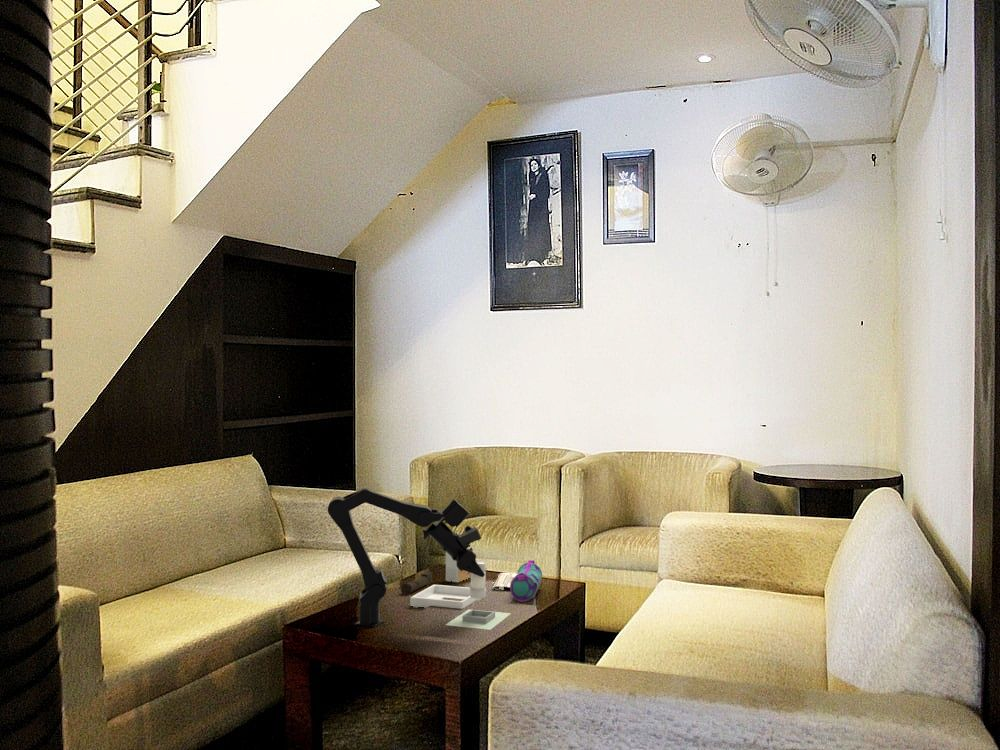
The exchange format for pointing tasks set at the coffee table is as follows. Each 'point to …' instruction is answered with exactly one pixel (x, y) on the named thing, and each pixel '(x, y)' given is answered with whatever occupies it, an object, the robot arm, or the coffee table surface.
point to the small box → (454, 571)
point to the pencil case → (526, 582)
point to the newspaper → (503, 580)
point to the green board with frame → (478, 619)
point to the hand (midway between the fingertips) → (482, 574)
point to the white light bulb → (478, 583)
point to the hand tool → (417, 583)
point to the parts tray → (438, 592)
